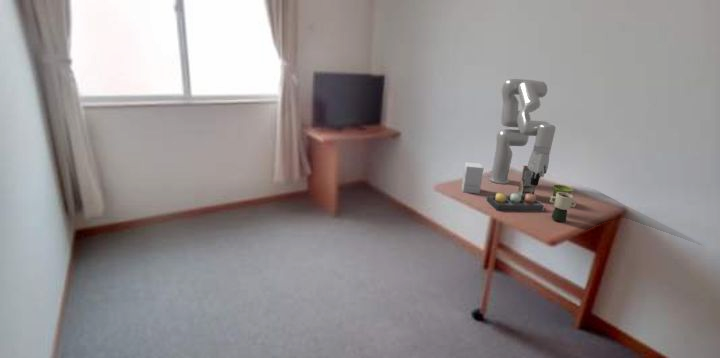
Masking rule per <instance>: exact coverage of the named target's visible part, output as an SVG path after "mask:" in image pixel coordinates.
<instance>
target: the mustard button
mask: <svg viewBox="0 0 720 358" xmlns="http://www.w3.org/2000/svg"><path fill="white" fill-rule="evenodd" d="M495 196H496V197H495V201H496V202H497V203H505V201H506V196H508V195H507V194H505V193H502V192H496V193H495Z"/></svg>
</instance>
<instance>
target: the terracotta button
mask: <svg viewBox="0 0 720 358" xmlns="http://www.w3.org/2000/svg"><path fill="white" fill-rule="evenodd" d="M535 200H537V195H536V194H535V193H534V194H530V193H527V194H526V196H525V200H524V201H525V202H527V203H535Z"/></svg>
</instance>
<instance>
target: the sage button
mask: <svg viewBox="0 0 720 358" xmlns="http://www.w3.org/2000/svg"><path fill="white" fill-rule="evenodd" d="M510 196H511V197H510V201H511V202H512V203H520V201H521V197H522V196H521V195H520V194H519V193H518V192H517V193H516V192H512V193H511V194H510Z"/></svg>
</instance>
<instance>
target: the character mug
mask: <svg viewBox="0 0 720 358" xmlns="http://www.w3.org/2000/svg"><path fill="white" fill-rule="evenodd" d="M553 199H555V201H553ZM577 202H578V201H577V200H576V199H574V196H573V195H572V193H570V194H568V193H564V192H558V193H557V194H556V197H553V195H552V196H550V200H549V203H551V204H553V207H555V208H554V209H553V212H552V214H551V218H552V219H553V220H554V221H557V222H562V223H564V222H566V221H567V213H568V210H570V209H571V207H573V208H575V207H576V205H577ZM572 203H573V204H572Z"/></svg>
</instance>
